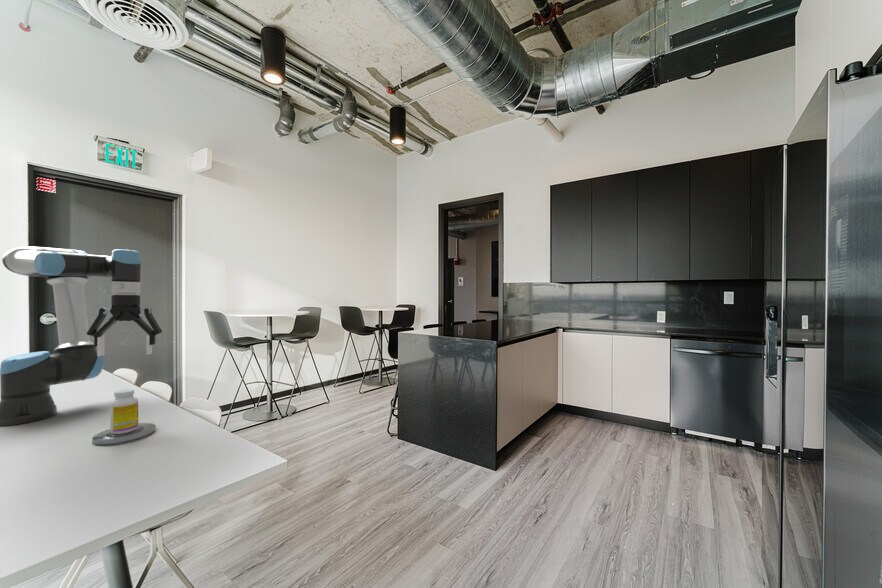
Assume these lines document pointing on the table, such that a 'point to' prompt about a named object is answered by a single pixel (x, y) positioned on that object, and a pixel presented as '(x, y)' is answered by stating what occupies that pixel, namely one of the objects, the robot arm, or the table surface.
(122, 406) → the supplement bottle
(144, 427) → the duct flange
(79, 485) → the table surface
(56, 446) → the table surface
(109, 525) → the table surface
